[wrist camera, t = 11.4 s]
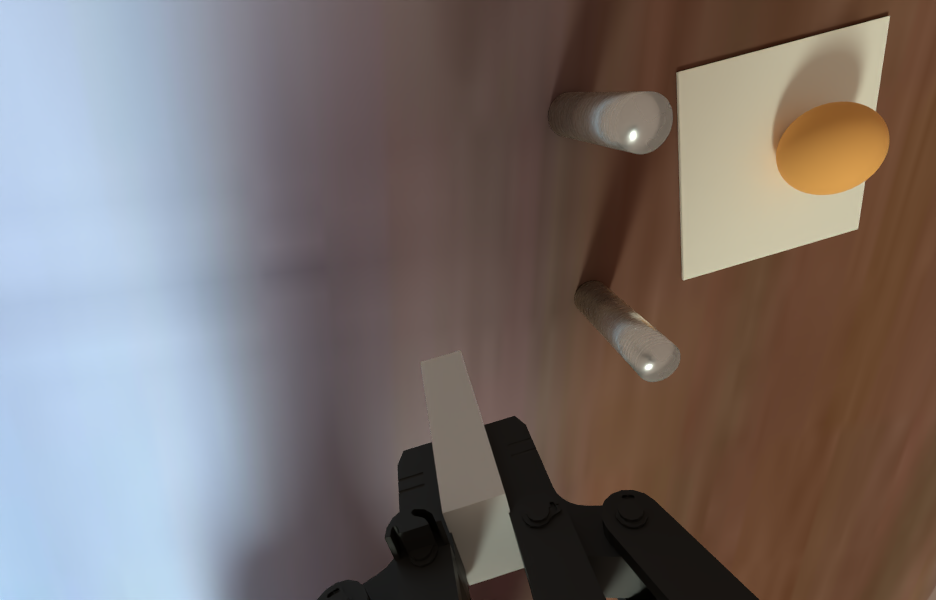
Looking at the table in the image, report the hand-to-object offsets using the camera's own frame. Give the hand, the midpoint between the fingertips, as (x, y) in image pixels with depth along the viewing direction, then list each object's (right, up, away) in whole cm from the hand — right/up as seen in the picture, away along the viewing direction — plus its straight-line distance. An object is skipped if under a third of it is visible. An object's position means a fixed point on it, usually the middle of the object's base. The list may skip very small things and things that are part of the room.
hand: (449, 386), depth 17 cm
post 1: (+7, +14, +11) cm, 19 cm away
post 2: (+10, +3, +16) cm, 19 cm away
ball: (+23, +12, +12) cm, 29 cm away
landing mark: (+22, +13, +14) cm, 29 cm away
